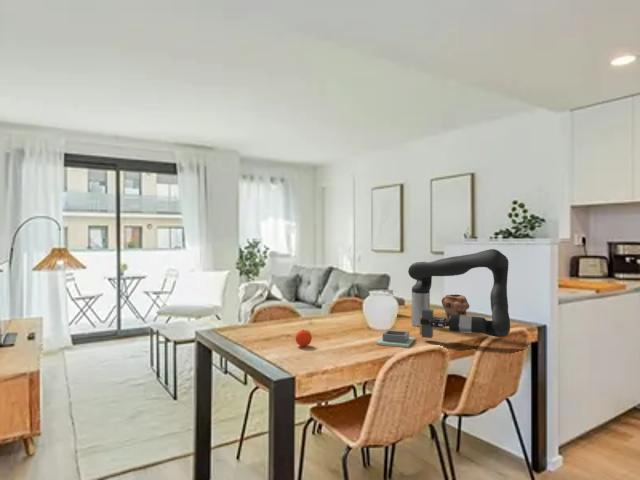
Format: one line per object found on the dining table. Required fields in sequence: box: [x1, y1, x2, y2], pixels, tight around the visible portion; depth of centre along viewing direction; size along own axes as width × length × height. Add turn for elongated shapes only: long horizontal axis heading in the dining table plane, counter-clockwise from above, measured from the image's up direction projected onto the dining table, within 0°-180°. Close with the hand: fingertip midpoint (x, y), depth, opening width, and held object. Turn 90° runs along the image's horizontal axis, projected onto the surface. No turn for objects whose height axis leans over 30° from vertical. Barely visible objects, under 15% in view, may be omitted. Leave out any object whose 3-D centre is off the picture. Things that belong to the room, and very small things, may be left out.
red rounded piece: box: [295, 329, 312, 347], centre depth 196 cm, size 8×7×7 cm
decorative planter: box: [441, 294, 470, 319], centre depth 257 cm, size 20×12×14 cm, turn 32°
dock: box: [375, 329, 416, 348], centre depth 204 cm, size 16×14×4 cm
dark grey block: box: [419, 308, 434, 339], centre depth 206 cm, size 4×6×12 cm
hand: (421, 320), depth 207 cm, fingers closed on dark grey block, 4 cm apart
